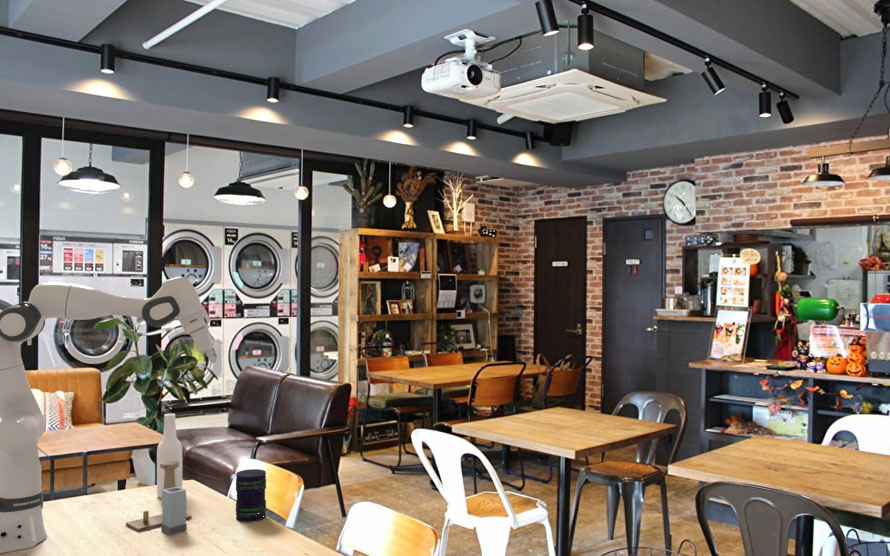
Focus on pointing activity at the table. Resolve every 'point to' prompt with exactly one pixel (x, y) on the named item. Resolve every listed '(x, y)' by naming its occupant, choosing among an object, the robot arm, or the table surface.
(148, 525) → the pin board
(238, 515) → the black cylinder
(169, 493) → the sleeve
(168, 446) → the alcohol
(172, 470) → the handle
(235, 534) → the table surface
